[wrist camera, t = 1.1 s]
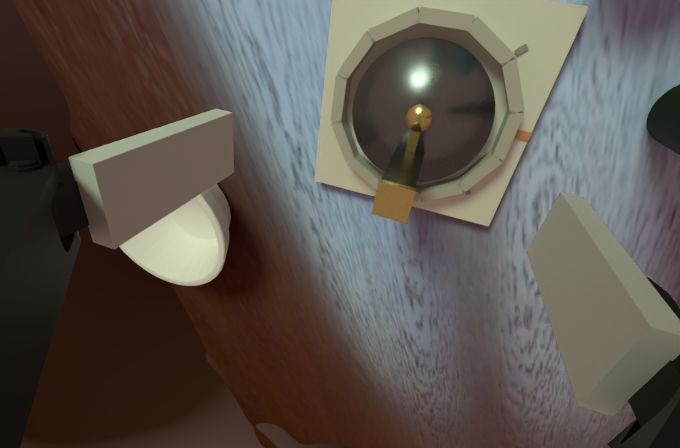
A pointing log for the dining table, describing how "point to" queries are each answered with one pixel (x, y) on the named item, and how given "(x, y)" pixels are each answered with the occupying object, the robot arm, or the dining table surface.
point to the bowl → (186, 241)
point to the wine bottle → (666, 120)
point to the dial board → (492, 52)
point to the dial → (421, 117)
